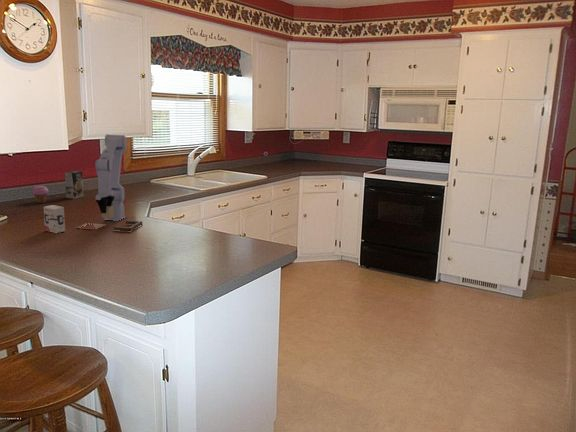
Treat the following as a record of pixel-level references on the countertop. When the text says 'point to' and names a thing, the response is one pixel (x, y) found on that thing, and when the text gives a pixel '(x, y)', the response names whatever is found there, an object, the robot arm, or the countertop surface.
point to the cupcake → (40, 193)
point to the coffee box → (74, 184)
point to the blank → (108, 212)
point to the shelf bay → (136, 224)
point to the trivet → (94, 225)
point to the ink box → (54, 218)
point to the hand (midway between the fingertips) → (105, 212)
